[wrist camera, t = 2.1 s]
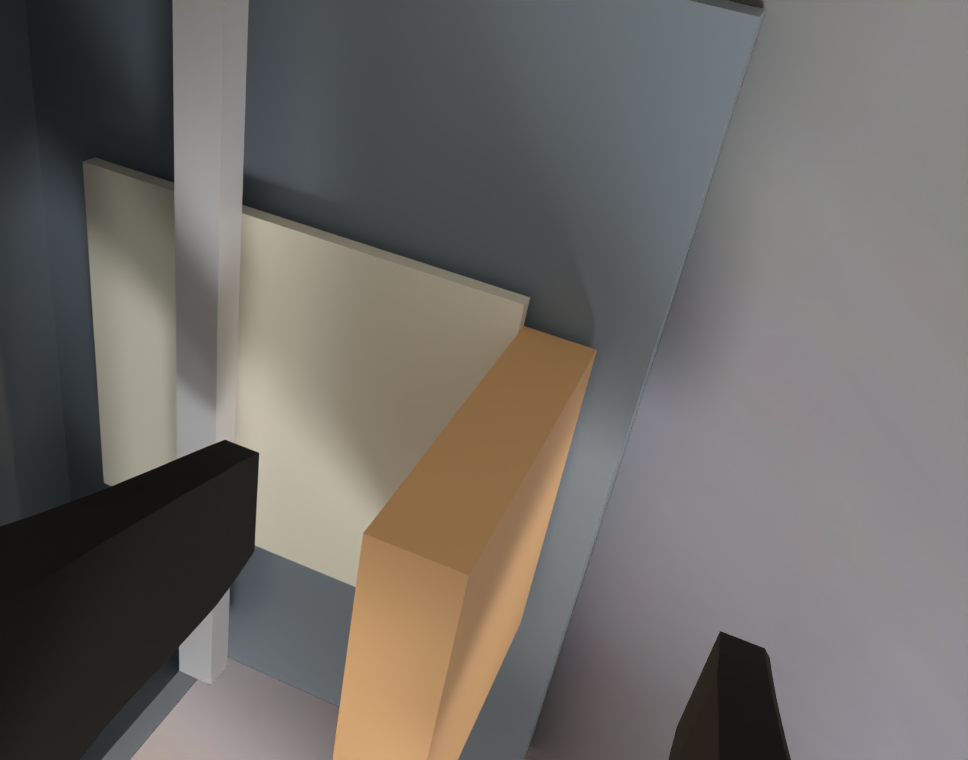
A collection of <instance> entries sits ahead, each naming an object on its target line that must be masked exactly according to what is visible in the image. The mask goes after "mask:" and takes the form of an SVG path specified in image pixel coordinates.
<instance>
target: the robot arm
mask: <svg viewBox="0 0 968 760" xmlns="http://www.w3.org/2000/svg"><path fill="white" fill-rule="evenodd" d="M258 469H259V453H258V452H256V451H253V450H251V449H248V448H246V447H243V446H240V445H238V444H235V443H233V442H230V441H227V440H223V441H220V442H218V443H215V444H212V445H210V446H207V447H205V448H202V449H200V450H197V451H195V452H193V453H190V454H188V455H186V456H183V457H181V458H178V459H176V460H174V461H171V462H169V463H167V464H164V465H162V466H159V467H157V468H155V469H152V470H150V471H148V472H145V473H143V474H140V475H138V476H135V477H133V478H131V479H128V480H126V481H123V482H121V483H118V484H116V485H113V486H111V487H108V488H106V489H104V490H101V491H99V492H96V493H93V494H91V495H88V496H85V497H83V498H80V499H77V500H74V501H72V502H69V503H66V504H63V505H61V506H58V507H55V508H52V509H49V510H47V511H44V512H41V513H38V514H36V515H33V516H30V517H27V518H24V519H21V520H18V521H15V522H12V523H9V524H6V525H3V526H0V760H80V759H81V758H82V756H83V755H84V754H85V752H86V751H87V750H88V748H89V747H90V746H91V744H92V743H93V742H94V740H95V739H96V738H97V737H98V736H99V734H100V733H101V732H102V731H103V730H104V728H105V727H106V726H107V725H108V724H109V723H110V721H111V720H112V719H113V718H114V717H115V716H116V714H117V713H118V712H119V711H120V710H121V709H122V708H123V707H124V706H125V705H126V704H127V702H128V701H129V700H130V699H131V698H132V697H133V696H134V695H135V694H136V693H137V692H138V691H139V689H140V688H141V687H142V686H143V685H144V684H145V683H146V682H147V681H148V680H149V679H150V678H151V676H152V675H153V674H154V673H155V672H156V671H157V670H158V669H159V668H160V667H161V666H162V665H163V664H164V662H165V661H166V660H167V659H168V658H169V657H170V656H171V655H172V654H173V653H174V652H175V651H176V649H177V648H178V647H179V646H180V645H181V644H182V643H183V642H184V641H185V640H186V639H187V637H188V636H189V635H190V634H191V633H192V632H193V631H194V630H195V629H196V628H197V626H198V625H199V624H200V623H201V622H202V621H203V620H204V619H205V618H206V617H207V615H208V614H209V613H210V612H211V611H212V610H213V609H214V608H215V606H216V605H217V604H218V603H219V601H220V600H221V599H222V597H223V596H224V594H225V593H226V592H227V590H228V589H229V588H230V586H231V585H232V584H233V582H234V581H235V579H236V578H237V576H238V575H239V573H240V572H241V571H242V569H243V568H244V566H245V565H246V563H247V562H248V560H249V559H250V557H251V556H252V554H253V553H254V550H255V530H256V510H257V489H258ZM669 760H791V759H790V755H789V751H788V747H787V743H786V739H785V735H784V730H783V726H782V722H781V717H780V713H779V708H778V704H777V699H776V694H775V688H774V683H773V677H772V671H771V664H770V658H769V656H768V654H767V652H766V650H765V648H762V647H759V646H757V645H754V644H752V643H749V642H747V641H744V640H741V639H739V638H736V637H734V636H731V635H728V634H726V633H723V632H721V631H720V633H719V635H718V637H717V640H716V642H715V644H714V646H713V648H712V651H711V653H710V655H709V657H708V659H707V662H706V664H705V666H704V668H703V670H702V673H701V675H700V677H699V679H698V682H697V684H696V686H695V688H694V690H693V693H692V695H691V697H690V699H689V701H688V704H687V706H686V708H685V710H684V712H683V715H682V717H681V719H680V721H679V724H678V726H677V729H676V733H675V737H674V740H673V744H672V748H671V752H670V756H669Z"/></svg>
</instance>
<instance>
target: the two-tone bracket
mask: <svg viewBox="0 0 968 760" xmlns="http://www.w3.org/2000/svg"><path fill="white" fill-rule="evenodd" d="M83 175H84V190H85V205H86V220H87V236H88V251H89V266H90V281H91V296H92V312H93V327H94V342H95V357H96V372H97V387H98V403H99V418H100V433H101V448H102V463H103V478H104V483H105V484H108V485H110V486H113V485H116V484H118V483H121V482H123V481H126V480H128V479H131V478H133V477H135V476H138V475H140V474H143V473H145V472H148V471H150V470H152V469H155V468H157V467H159V466H162V465H164V464H167V463H169V462H171V461H174V460H176V459H177V393H176V294H175V195H174V183H173V182H170V181H167V180H164V179H161V178H158V177H155V176H151V175H148V174H145V173H142V172H139V171H136V170H133V169H130V168H127V167H123V166H120V165H117V164H114V163H111V162H108V161H105V160H102V159H99V158H96V157H95V158H92V159H89V160H86V161H83ZM529 301H530V297H527V296H524V295H521V294H518V293H515V292H512V291H509V290H505V289H502V288H499V287H496V286H493V285H490V284H487V283H484V282H481V281H478V280H474V279H471V278H468V277H465V276H462V275H459V274H456V273H453V272H450V271H446V270H443V269H440V268H437V267H434V266H431V265H428V264H425V263H422V262H419V261H415V260H412V259H409V258H406V257H403V256H400V255H397V254H394V253H391V252H387V251H384V250H381V249H378V248H375V247H372V246H369V245H366V244H363V243H360V242H356V241H353V240H350V239H347V238H344V237H341V236H338V235H335V234H332V233H328V232H325V231H322V230H319V229H316V228H313V227H310V226H307V225H304V224H300V223H297V222H294V221H291V220H288V219H285V218H282V217H279V216H276V215H273V214H269V213H266V212H263V211H260V210H257V209H254V208H251V207H248V206H245V205H242V225H241V256H240V288H239V319H238V350H237V381H236V412H235V444H238V445H240V446H243V447H246V448H248V449H251V450H253V451H256V452H258V453H259V469H258V489H257V510H256V530H255V546H257V547H260V548H262V549H265V550H267V551H270V552H272V553H274V554H277V555H279V556H282V557H284V558H286V559H289V560H291V561H294V562H296V563H299V564H301V565H303V566H306V567H308V568H311V569H313V570H315V571H318V572H320V573H323V574H325V575H328V576H330V577H332V578H335V579H337V580H340V581H342V582H344V583H347V584H349V585H352V586H354V587H356V590H355V597H354V604H353V612H352V619H351V626H350V634H349V641H348V648H347V656H346V663H345V671H344V678H343V685H342V693H341V700H340V707H339V715H338V722H337V730H336V737H335V744H334V752H333V759H332V760H458V758H459V756H460V754H461V752H462V750H463V747H464V745H465V743H466V741H467V739H468V737H469V734H470V732H471V730H472V728H473V726H474V723H475V721H476V719H477V717H478V715H479V713H480V710H481V708H482V706H483V704H484V702H485V699H486V697H487V695H488V693H489V691H490V689H491V686H492V684H493V682H494V680H495V678H496V675H497V673H498V671H499V669H500V667H501V665H502V662H503V660H504V658H505V656H506V654H507V651H508V649H509V647H510V645H511V643H512V641H513V638H514V636H515V634H516V632H517V630H518V627H519V625H520V623H521V620H522V616H523V613H524V609H525V606H526V602H527V599H528V595H529V591H530V588H531V584H532V581H533V577H534V573H535V570H536V566H537V563H538V559H539V556H540V552H541V548H542V545H543V541H544V538H545V534H546V531H547V527H548V523H549V520H550V516H551V513H552V509H553V506H554V502H555V498H556V495H557V491H558V488H559V484H560V480H561V477H562V473H563V470H564V466H565V463H566V459H567V455H568V452H569V448H570V445H571V441H572V438H573V434H574V430H575V427H576V423H577V420H578V416H579V412H580V409H581V405H582V402H583V398H584V395H585V391H586V387H587V384H588V380H589V377H590V373H591V370H592V366H593V362H594V359H595V355H596V352H597V350H595V349H592V348H589V347H586V346H583V345H580V344H577V343H574V342H571V341H568V340H565V339H562V338H559V337H556V336H553V335H550V334H547V333H544V332H541V331H538V330H535V329H532V328H529V327H526V326H524V323H525V318H526V314H527V309H528V305H529Z"/></svg>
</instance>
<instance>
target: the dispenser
mask: <svg viewBox="0 0 968 760" xmlns="http://www.w3.org/2000/svg"><path fill="white" fill-rule="evenodd" d="M765 10H766V9H762V8H758V7H754V6H750V5H745V4H741V3H737V2H733V1H728V0H0V526H3V525H6V524H9V523H12V522H15V521H18V520H21V519H24V518H27V517H30V516H33V515H36V514H38V513H41V512H44V511H47V510H49V509H52V508H55V507H58V506H61V505H63V504H66V503H69V502H72V501H74V500H77V499H80V498H83V497H85V496H88V495H91V494H93V493H96V492H99V491H101V490H104V489H106V488H108V487H111V486H110V485H108V484H105V483H104V478H103V463H102V448H101V433H100V418H99V403H98V387H97V372H96V357H95V342H94V327H93V312H92V296H91V281H90V266H89V251H88V236H87V220H86V205H85V190H84V175H83V161H86V160H89V159H92V158H95V157H96V158H99V159H102V160H105V161H108V162H111V163H114V164H117V165H120V166H123V167H127V168H130V169H133V170H136V171H139V172H142V173H145V174H148V175H151V176H155V177H158V178H161V179H164V180H167V181H170V182H173V183H174V195H175V294H176V393H177V459H178V458H181V457H183V456H186V455H188V454H190V453H193V452H195V451H197V450H200V449H202V448H205V447H207V446H210V445H212V444H215V443H218V442H220V441H223V440H227V441H230V442H233V443H235V412H236V381H237V350H238V319H239V288H240V256H241V225H242V205H245V206H248V207H251V208H254V209H257V210H260V211H263V212H266V213H269V214H273V215H276V216H279V217H282V218H285V219H288V220H291V221H294V222H297V223H300V224H304V225H307V226H310V227H313V228H316V229H319V230H322V231H325V232H328V233H332V234H335V235H338V236H341V237H344V238H347V239H350V240H353V241H356V242H360V243H363V244H366V245H369V246H372V247H375V248H378V249H381V250H384V251H387V252H391V253H394V254H397V255H400V256H403V257H406V258H409V259H412V260H415V261H419V262H422V263H425V264H428V265H431V266H434V267H437V268H440V269H443V270H446V271H450V272H453V273H456V274H459V275H462V276H465V277H468V278H471V279H474V280H478V281H481V282H484V283H487V284H490V285H493V286H496V287H499V288H502V289H505V290H509V291H512V292H515V293H518V294H521V295H524V296H527V297H530V301H529V305H528V309H527V314H526V318H525V323H524V326H526V327H529V328H532V329H535V330H538V331H541V332H544V333H547V334H550V335H553V336H556V337H559V338H562V339H565V340H568V341H571V342H574V343H577V344H580V345H583V346H586V347H589V348H592V349H595V350H597V352H596V355H595V359H594V362H593V366H592V370H591V373H590V377H589V380H588V384H587V387H586V391H585V395H584V398H583V402H582V405H581V409H580V412H579V416H578V420H577V423H576V427H575V430H574V434H573V438H572V441H571V445H570V448H569V452H568V455H567V459H566V463H565V466H564V470H563V473H562V477H561V480H560V484H559V488H558V491H557V495H556V498H555V502H554V506H553V509H552V513H551V516H550V520H549V523H548V527H547V531H546V534H545V538H544V541H543V545H542V548H541V552H540V556H539V559H538V563H537V566H536V570H535V573H534V577H533V581H532V584H531V588H530V591H529V595H528V599H527V602H526V606H525V609H524V613H523V616H522V620H521V623H520V625H519V627H518V630H517V632H516V634H515V636H514V638H513V641H512V643H511V645H510V647H509V649H508V651H507V654H506V656H505V658H504V660H503V662H502V665H501V667H500V669H499V671H498V673H497V675H496V678H495V680H494V682H493V684H492V686H491V689H490V691H489V693H488V695H487V697H486V699H485V702H484V704H483V706H482V708H481V710H480V713H479V715H478V717H477V719H476V721H475V723H474V726H473V728H472V730H471V732H470V734H469V737H468V739H467V741H466V743H465V745H464V747H463V750H462V752H461V754H460V756H459V758H458V760H525V758H526V755H527V752H528V750H529V747H530V743H531V740H532V737H533V734H534V731H535V728H536V725H537V722H538V719H539V715H540V712H541V709H542V706H543V703H544V700H545V697H546V694H547V690H548V687H549V684H550V681H551V678H552V675H553V672H554V669H555V665H556V662H557V659H558V656H559V653H560V650H561V647H562V644H563V641H564V637H565V634H566V631H567V628H568V625H569V622H570V619H571V616H572V612H573V609H574V606H575V603H576V600H577V597H578V594H579V591H580V588H581V584H582V581H583V578H584V575H585V572H586V569H587V566H588V563H589V559H590V556H591V553H592V550H593V547H594V544H595V541H596V538H597V534H598V531H599V528H600V525H601V522H602V519H603V516H604V513H605V510H606V506H607V503H608V500H609V497H610V494H611V491H612V488H613V485H614V481H615V478H616V475H617V472H618V469H619V466H620V463H621V460H622V457H623V453H624V450H625V447H626V444H627V441H628V438H629V435H630V432H631V428H632V425H633V422H634V419H635V416H636V413H637V410H638V407H639V403H640V400H641V397H642V394H643V391H644V388H645V385H646V382H647V379H648V375H649V372H650V369H651V366H652V363H653V360H654V357H655V354H656V350H657V347H658V344H659V341H660V338H661V335H662V332H663V329H664V326H665V322H666V319H667V316H668V313H669V310H670V307H671V304H672V301H673V297H674V294H675V291H676V288H677V285H678V282H679V279H680V276H681V272H682V269H683V266H684V263H685V260H686V257H687V254H688V251H689V248H690V244H691V241H692V238H693V235H694V232H695V229H696V226H697V223H698V219H699V216H700V213H701V210H702V207H703V204H704V201H705V198H706V195H707V191H708V188H709V185H710V182H711V179H712V176H713V173H714V170H715V166H716V163H717V160H718V157H719V154H720V151H721V148H722V145H723V141H724V138H725V135H726V132H727V129H728V126H729V123H730V120H731V117H732V113H733V110H734V107H735V104H736V101H737V98H738V95H739V92H740V88H741V85H742V82H743V79H744V76H745V73H746V70H747V67H748V64H749V60H750V57H751V54H752V51H753V48H754V45H755V42H756V39H757V35H758V32H759V29H760V26H761V23H762V20H763V17H764V14H765ZM355 590H356V587H354V586H352V585H349V584H347V583H344V582H342V581H340V580H337V579H335V578H332V577H330V576H328V575H325V574H323V573H320V572H318V571H315V570H313V569H311V568H308V567H306V566H303V565H301V564H299V563H296V562H294V561H291V560H289V559H286V558H284V557H282V556H279V555H277V554H274V553H272V552H270V551H267V550H265V549H262V548H260V547H257V546H255V550H254V553H253V554H252V556H251V557H250V559H249V560H248V562H247V563H246V565H245V566H244V568H243V569H242V571H241V572H240V573H239V575H238V576H237V578H236V579H235V581H234V582H233V584H232V585H231V586H230V588H229V589H228V590H227V592H226V593H225V594H224V596H223V597H222V599H221V600H220V601H219V603H218V604H217V605H216V606H215V608H214V609H213V610H212V611H211V612H210V613H209V614H208V615H207V617H206V618H205V619H204V620H203V621H202V622H201V623H200V624H199V625H198V626H197V628H196V629H195V630H194V631H193V632H192V633H191V634H190V635H189V636H188V637H187V639H186V640H185V641H184V642H183V643H182V644H181V645H180V646H179V647H178V648H177V649H176V651H175V652H174V653H173V654H172V655H171V656H170V657H169V658H168V659H167V660H166V661H165V662H164V664H163V665H162V666H161V667H160V668H159V669H158V670H157V671H156V672H155V673H154V674H153V675H152V676H151V678H150V679H149V680H148V681H147V682H146V683H145V684H144V685H143V686H142V687H141V688H140V689H139V691H138V692H137V693H136V694H135V695H134V696H133V697H132V698H131V699H130V700H129V701H128V702H127V704H126V705H125V706H124V707H123V708H122V709H121V710H120V711H119V712H118V713H117V714H116V716H115V717H114V718H113V719H112V720H111V721H110V723H109V724H108V725H107V726H106V727H105V728H104V730H103V731H102V732H101V733H100V734H99V736H98V737H97V738H96V739H95V740H94V742H93V743H92V744H91V746H90V747H89V748H88V750H87V751H86V752H85V754H84V755H83V756H82V758H81V759H80V760H130V759H131V758H132V757H133V755H134V754H135V753H136V752H137V751H138V750H139V748H140V747H141V746H142V745H143V744H144V742H145V741H146V740H147V739H148V738H149V736H150V735H151V734H152V733H153V732H154V731H155V729H156V728H157V727H158V726H159V725H160V723H161V722H162V721H163V720H164V719H165V717H166V716H167V715H168V714H169V713H170V712H171V710H172V709H173V708H174V707H175V706H176V704H177V703H178V702H179V701H180V700H181V698H182V697H183V696H184V695H185V694H186V693H187V691H188V690H189V689H190V688H191V687H192V685H193V684H194V683H195V682H196V681H197V679H198V680H201V681H203V682H205V683H207V684H209V685H212V684H213V682H214V681H215V680H216V679H217V677H218V676H219V675H220V674H221V673H222V671H223V670H224V669H225V668H226V666H227V661H228V658H231V659H233V660H235V661H237V662H240V663H242V664H244V665H246V666H249V667H251V668H253V669H255V670H257V671H260V672H262V673H264V674H266V675H269V676H271V677H273V678H275V679H278V680H280V681H282V682H284V683H287V684H289V685H291V686H293V687H295V688H298V689H300V690H302V691H304V692H307V693H309V694H311V695H313V696H316V697H318V698H320V699H322V700H325V701H327V702H329V703H331V704H333V705H336V706H338V707H340V700H341V693H342V685H343V678H344V671H345V663H346V656H347V648H348V641H349V634H350V626H351V619H352V612H353V604H354V597H355Z"/></svg>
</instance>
